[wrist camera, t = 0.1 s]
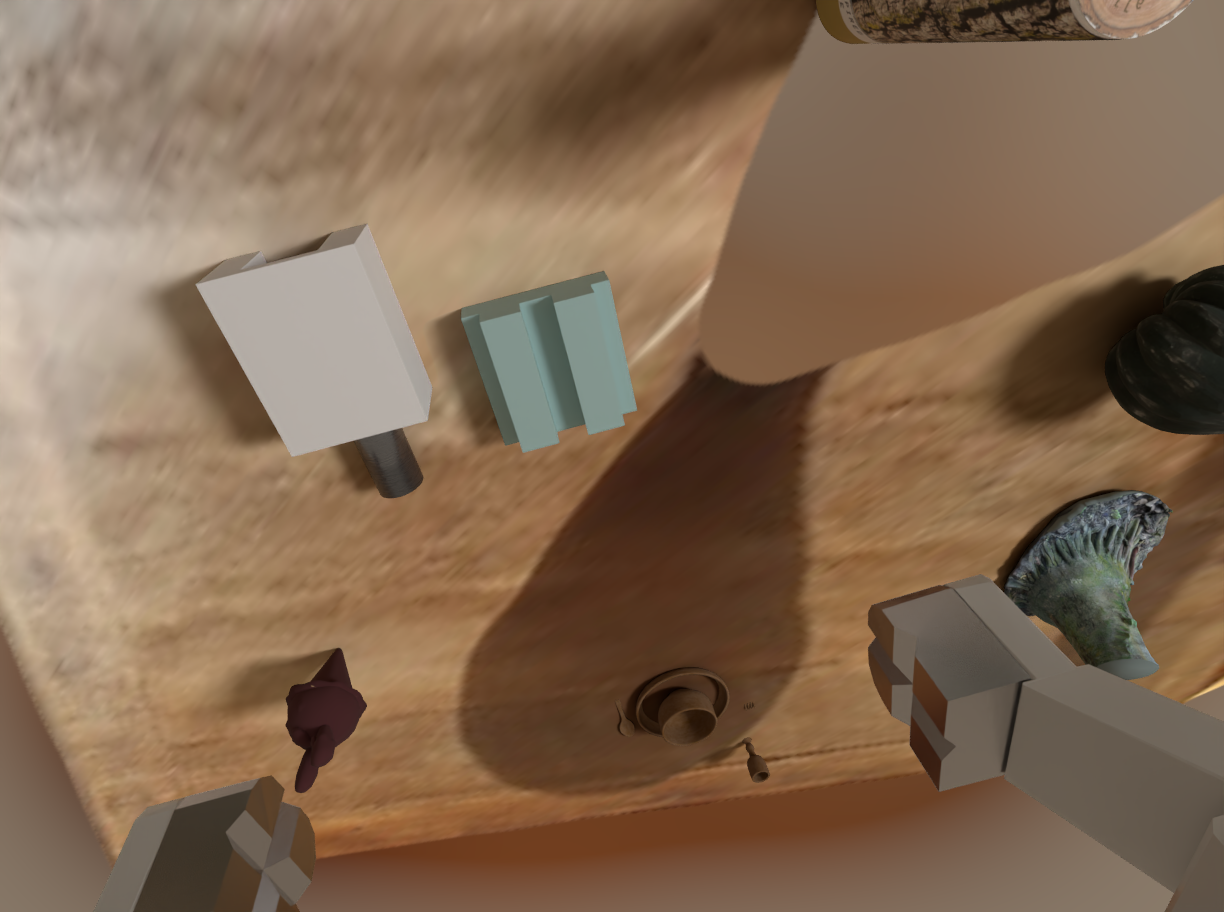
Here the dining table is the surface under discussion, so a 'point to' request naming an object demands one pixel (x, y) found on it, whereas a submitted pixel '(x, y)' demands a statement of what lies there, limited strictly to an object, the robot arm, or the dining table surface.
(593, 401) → the v block
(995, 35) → the bark textured pillar
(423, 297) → the dining table surface
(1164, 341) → the squash
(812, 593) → the dining table surface
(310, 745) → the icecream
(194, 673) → the dining table surface
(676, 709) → the place setting
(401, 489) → the axle
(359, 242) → the white notched block
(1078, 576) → the green grey mushroom
